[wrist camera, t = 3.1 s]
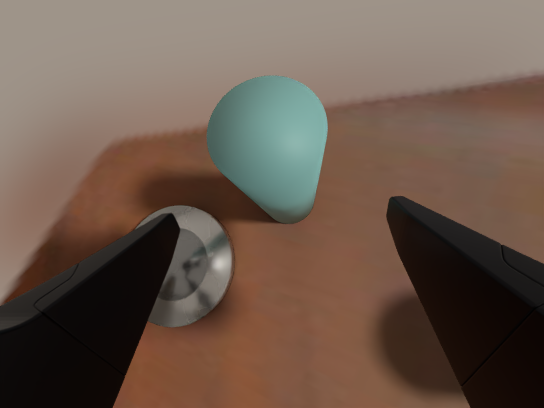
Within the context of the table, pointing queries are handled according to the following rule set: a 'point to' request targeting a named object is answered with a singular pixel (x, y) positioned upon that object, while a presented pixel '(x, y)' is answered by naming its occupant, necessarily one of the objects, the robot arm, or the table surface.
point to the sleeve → (271, 144)
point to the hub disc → (194, 268)
